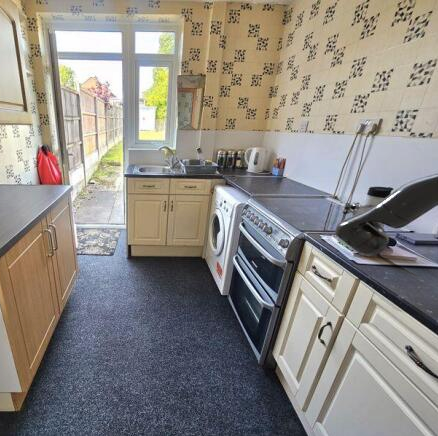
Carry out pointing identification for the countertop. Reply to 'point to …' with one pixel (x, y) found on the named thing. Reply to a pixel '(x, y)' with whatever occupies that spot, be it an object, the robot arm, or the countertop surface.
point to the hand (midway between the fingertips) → (373, 208)
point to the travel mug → (376, 195)
